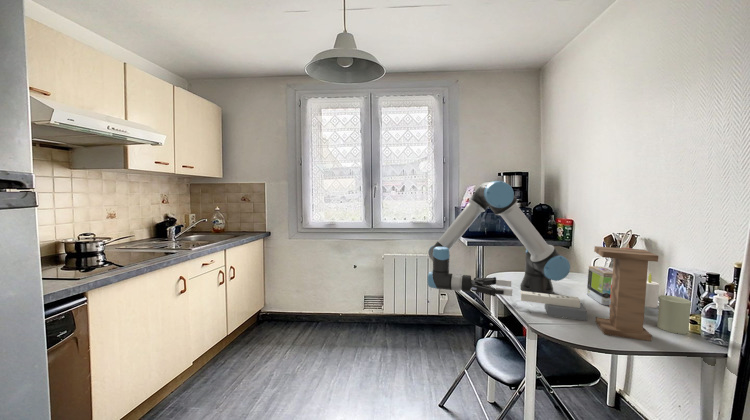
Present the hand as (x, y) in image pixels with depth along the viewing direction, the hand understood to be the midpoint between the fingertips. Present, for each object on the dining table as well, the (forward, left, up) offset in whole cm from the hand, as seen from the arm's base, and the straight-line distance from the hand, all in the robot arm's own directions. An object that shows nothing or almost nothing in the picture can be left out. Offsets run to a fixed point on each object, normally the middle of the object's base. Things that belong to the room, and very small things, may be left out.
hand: (511, 288), depth 148 cm
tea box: (-27, +42, -9) cm, 51 cm away
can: (+1, +57, -9) cm, 57 cm away
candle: (-27, +59, -9) cm, 65 cm away
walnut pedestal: (+11, +37, -8) cm, 39 cm away
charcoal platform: (0, +21, -8) cm, 22 cm away
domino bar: (0, +15, -4) cm, 15 cm away
